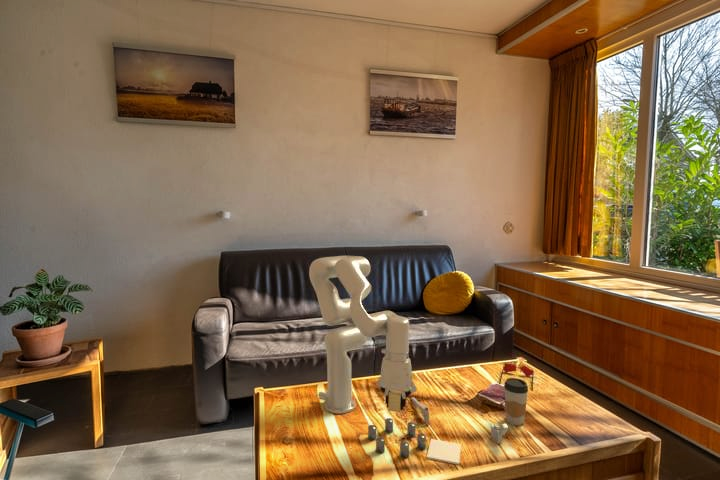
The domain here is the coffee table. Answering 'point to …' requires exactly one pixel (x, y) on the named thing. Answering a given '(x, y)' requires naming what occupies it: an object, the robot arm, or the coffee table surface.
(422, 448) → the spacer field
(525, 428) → the coffee table surface
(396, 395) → the tan rectangular block
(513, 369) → the glasses
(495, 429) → the lighter
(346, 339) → the robot arm
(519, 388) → the coffee cup
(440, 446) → the coaster
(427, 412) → the caliper
